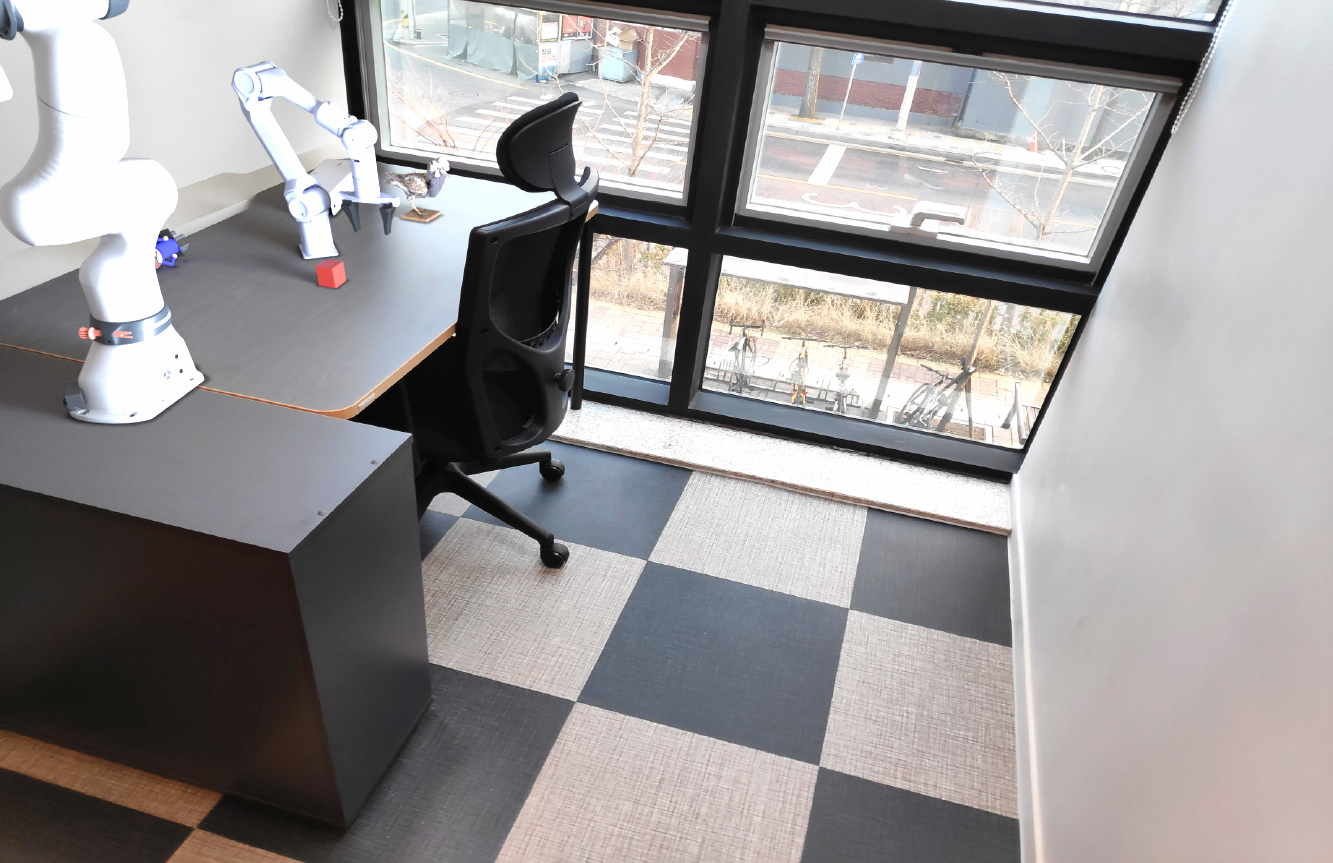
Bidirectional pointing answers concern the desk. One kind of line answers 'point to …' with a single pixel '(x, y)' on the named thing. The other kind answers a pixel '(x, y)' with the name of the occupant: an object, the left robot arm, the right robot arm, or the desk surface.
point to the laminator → (334, 180)
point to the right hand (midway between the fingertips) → (372, 232)
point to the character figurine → (168, 248)
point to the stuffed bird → (421, 187)
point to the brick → (330, 273)
